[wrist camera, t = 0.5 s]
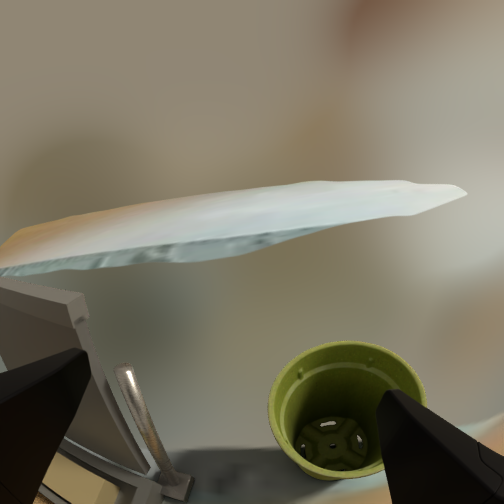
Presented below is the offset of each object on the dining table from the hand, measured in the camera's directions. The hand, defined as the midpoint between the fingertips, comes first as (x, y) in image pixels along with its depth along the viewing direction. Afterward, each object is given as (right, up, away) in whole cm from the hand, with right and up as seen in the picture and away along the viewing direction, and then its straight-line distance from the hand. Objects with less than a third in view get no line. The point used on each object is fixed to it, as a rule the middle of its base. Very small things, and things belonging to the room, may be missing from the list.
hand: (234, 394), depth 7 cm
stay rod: (-5, -14, +10) cm, 18 cm away
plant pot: (+7, -12, +11) cm, 18 cm away
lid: (-14, -5, +6) cm, 16 cm away
